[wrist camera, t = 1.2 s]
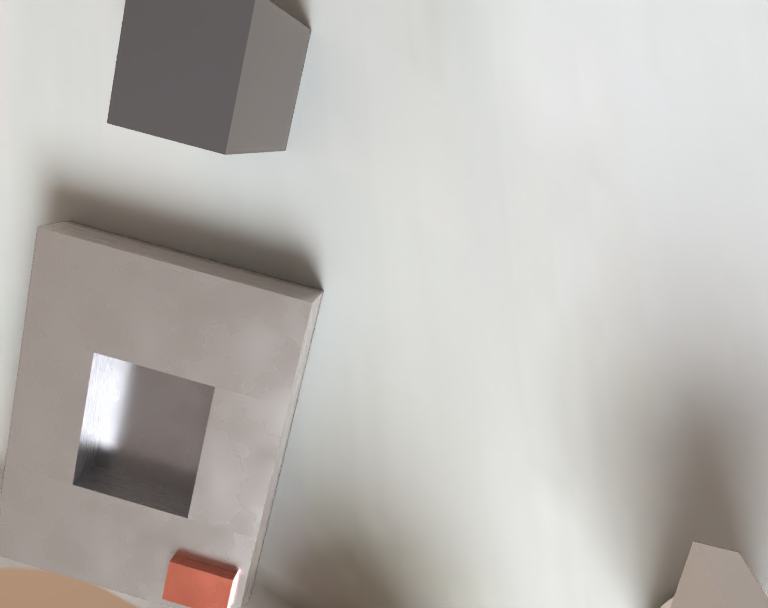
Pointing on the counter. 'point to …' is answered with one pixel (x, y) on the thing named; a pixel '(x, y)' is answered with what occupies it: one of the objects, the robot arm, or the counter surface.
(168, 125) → the plug
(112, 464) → the socket plate
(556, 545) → the counter surface
